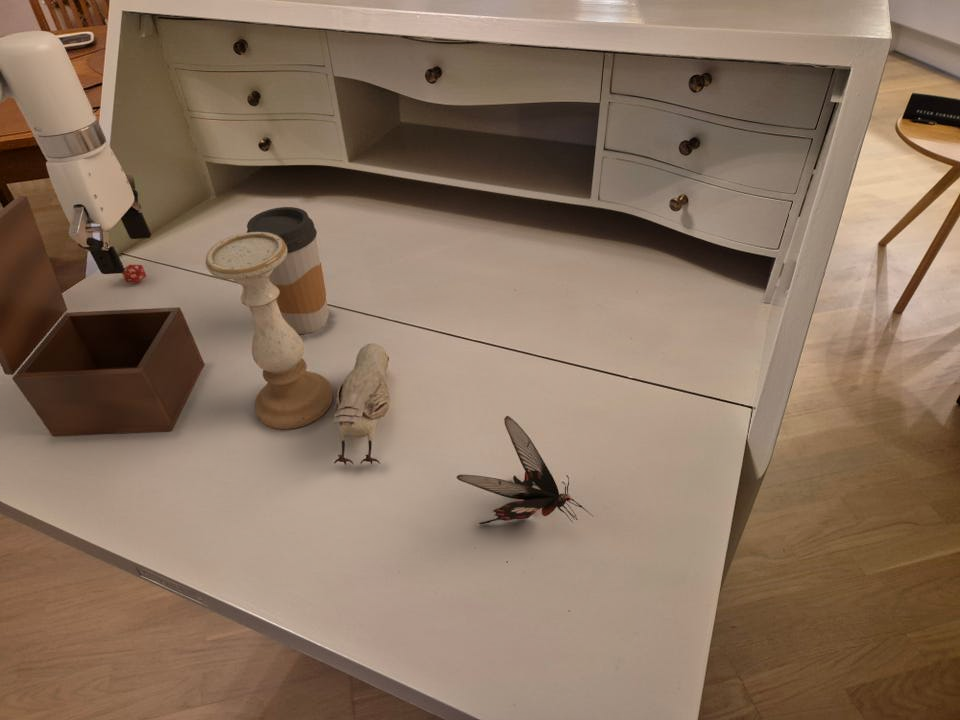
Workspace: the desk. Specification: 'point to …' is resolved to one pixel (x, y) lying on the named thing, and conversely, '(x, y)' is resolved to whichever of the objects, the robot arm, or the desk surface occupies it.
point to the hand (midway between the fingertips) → (128, 254)
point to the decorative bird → (363, 397)
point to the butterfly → (524, 482)
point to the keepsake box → (112, 372)
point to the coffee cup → (296, 268)
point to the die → (134, 273)
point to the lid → (24, 286)
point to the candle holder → (271, 331)
